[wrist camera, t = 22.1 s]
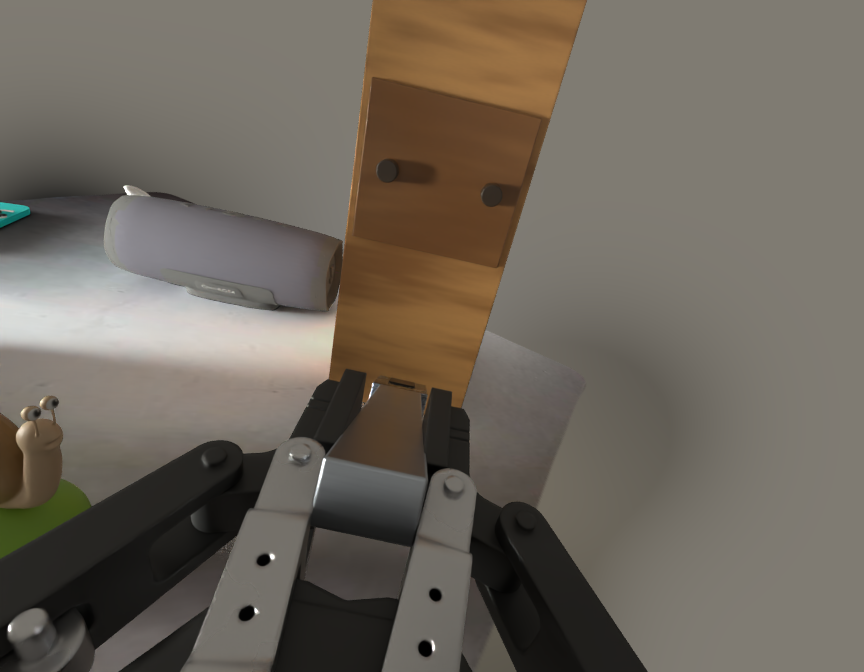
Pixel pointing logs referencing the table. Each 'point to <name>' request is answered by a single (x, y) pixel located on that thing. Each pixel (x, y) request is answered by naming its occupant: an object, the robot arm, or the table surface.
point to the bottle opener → (377, 468)
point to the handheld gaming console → (12, 213)
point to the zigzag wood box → (442, 178)
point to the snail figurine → (33, 479)
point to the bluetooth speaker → (224, 253)
